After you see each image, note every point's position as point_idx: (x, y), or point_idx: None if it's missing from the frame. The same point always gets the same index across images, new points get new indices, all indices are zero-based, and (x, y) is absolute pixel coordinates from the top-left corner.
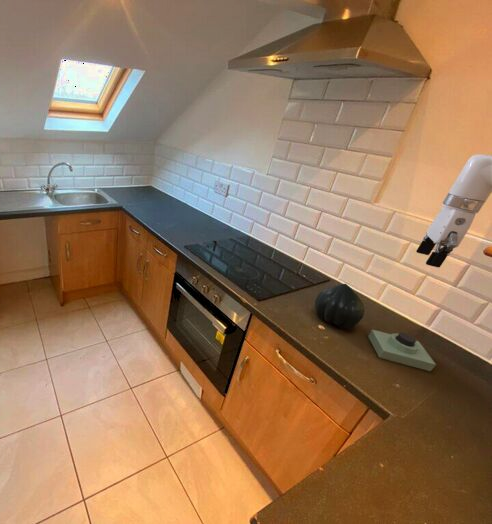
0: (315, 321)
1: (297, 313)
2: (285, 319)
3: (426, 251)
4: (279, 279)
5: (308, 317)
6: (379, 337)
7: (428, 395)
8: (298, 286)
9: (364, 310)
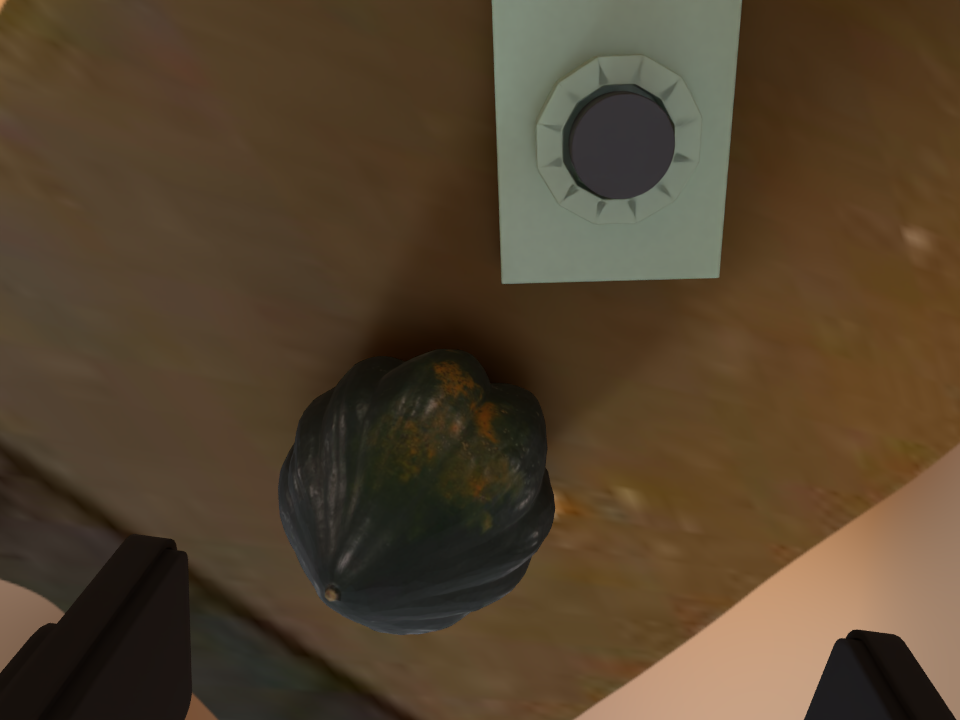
0: None
1: None
2: (558, 652)
3: (160, 654)
4: None
5: None
6: (578, 260)
7: (956, 89)
8: None
9: (440, 385)
